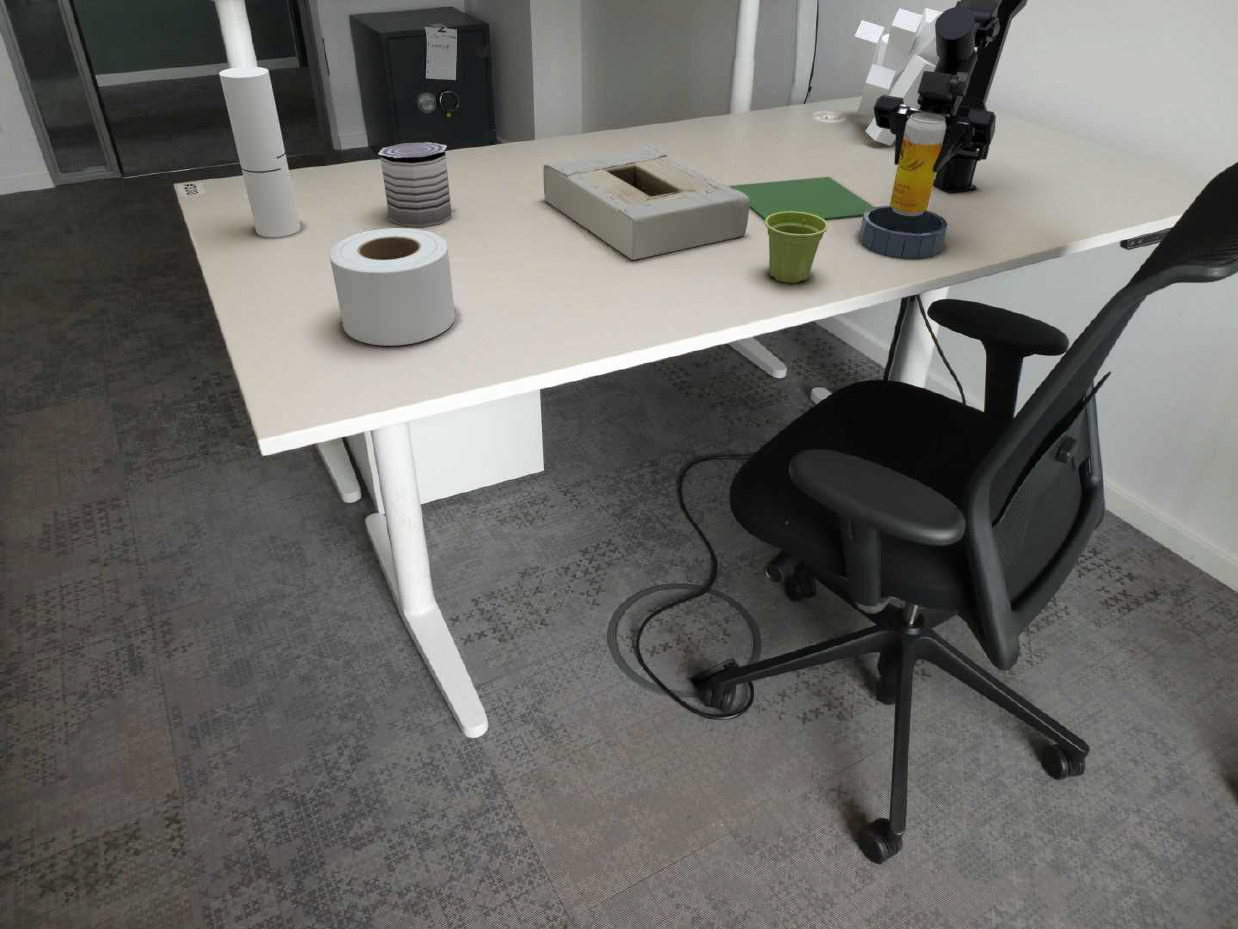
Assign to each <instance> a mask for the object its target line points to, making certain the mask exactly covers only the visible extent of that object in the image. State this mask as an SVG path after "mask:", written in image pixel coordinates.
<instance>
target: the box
mask: <svg viewBox="0 0 1238 929" xmlns="http://www.w3.org/2000/svg"><path fill="white" fill-rule="evenodd" d="M542 174H543V193H544V194H543V196H544V200H545V201H546V202H547V203H549V205H551V206H552V207H554V208H556V210H559V211H560V212H561V213H563V214H564V215H566V216H567V217H568V218H570V219H572V220H573V221H574V222H576V223H578V224H579V225H581V227H583V228H584V229H586V230H588V231H590V232H591V233H592V234H594V235H595V236H597V237H598V239H599V238H600V239H601V240H602V241H603V242H605V243H606V244H608V245H609V246H611V247H613V249H615V250H617V251H618V252H620V253H621V254H623V255H624V256H625V257H627V258H629V259H630V260H632V261H634V260H640V259H644V258H649V257H653V256H658V255H662V254H667V253H672V252H676V251H677V252H678V251H680V250H685V249H690V248H694V247H698V246H703V245H708V244H713V243H717V242H722V241H727V240H732V239H735V238H740V237H743V236H745V234H746V232H747V229H748V222H749V215H750V207H749V205H750V200H749V197H748V196H747V195H746V194H744V193H742V192H740V191H738V190H736V189H733V188H731V187H729V186H730V185H728V184H726V183H720V182H718V181H717V180H715V179H712V178H710V177H709V176H707V175H705V174H702V173H701V172H698V171H697V170H695V169H693V168H691V167H689V166H687V165H685V164H683V163H681V162H679V161H677V160H676V159H674V158H671V157H669V156H668V155H667V154H666V153H664V152H661V151H660V150H659V149H658V148H656V147H653V146H651V145H650V146H649V145H648V146H644V147H639V148H634V149H629V150H623V151H622V150H621V151H617V152H612V153H607V154H606V153H605V154H599V155H593V156H587V157H581V158H576V159H570V160H563V161H551V162H546V163H545V164H543V171H542Z"/></svg>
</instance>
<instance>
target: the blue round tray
mask: <svg viewBox="0 0 1238 929" xmlns="http://www.w3.org/2000/svg"><path fill="white" fill-rule="evenodd" d="M873 207H874V208H872V209H869V210H867V211H866V212H865V214H864V215H863V216H862V220H861V224H860V225H861V226H860V231H859V235H858V239H859V242H860V243H861V244H862V246H864V247H866V248H867V249H868V250H869V251H871V252H873V253H876V254H877V253H878V254H880V255H883V256H887V257H893V258H899V259H915V260H916V259H918V260H919V259H925V258H931V257H933V256H937V255H938V254H940V253H941V251H942V249H943V246H944V243H945V238H946V235H947V230H948V226H949V223H948V222H947V221H946V219H945V218H944V217H943V216H941V215H939V214H937V213H936V212H933V211H930V210H928V209H927V210H925V211H924V212H923V214H921V215H918V216H905V215H901V214H898V213H896V212H894V211H893V210H892V207H891V205H890V204H889V205H888V204H887V205H880V206H873ZM895 230H902V231H908V232H909V233H907V232H901V231H895ZM910 232H913V233H910Z"/></svg>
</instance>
